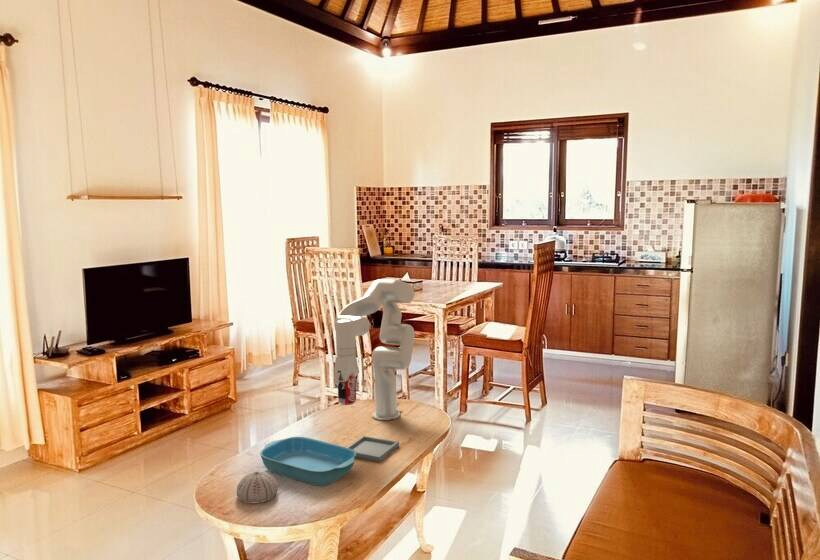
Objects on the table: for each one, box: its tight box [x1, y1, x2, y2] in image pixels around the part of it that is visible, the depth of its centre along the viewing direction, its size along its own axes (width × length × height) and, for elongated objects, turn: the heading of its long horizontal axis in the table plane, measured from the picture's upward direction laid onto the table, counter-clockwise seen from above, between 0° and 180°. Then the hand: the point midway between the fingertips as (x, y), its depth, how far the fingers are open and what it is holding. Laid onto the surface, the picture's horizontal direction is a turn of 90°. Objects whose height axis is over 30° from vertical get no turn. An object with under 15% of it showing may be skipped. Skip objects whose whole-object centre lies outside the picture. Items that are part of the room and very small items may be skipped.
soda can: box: [337, 374, 357, 406], centre depth 234 cm, size 7×7×12 cm
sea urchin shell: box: [235, 470, 279, 503], centre depth 193 cm, size 13×14×8 cm
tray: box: [345, 435, 400, 463], centre depth 229 cm, size 16×16×2 cm
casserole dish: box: [259, 436, 357, 487], centre depth 212 cm, size 37×22×7 cm, turn 59°
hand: (347, 395), depth 235 cm, fingers closed on soda can, 6 cm apart
